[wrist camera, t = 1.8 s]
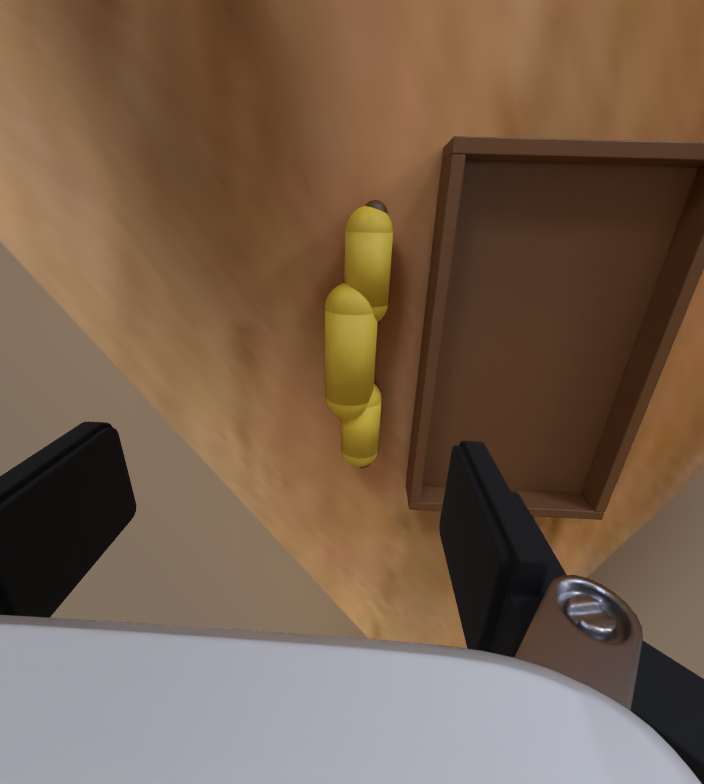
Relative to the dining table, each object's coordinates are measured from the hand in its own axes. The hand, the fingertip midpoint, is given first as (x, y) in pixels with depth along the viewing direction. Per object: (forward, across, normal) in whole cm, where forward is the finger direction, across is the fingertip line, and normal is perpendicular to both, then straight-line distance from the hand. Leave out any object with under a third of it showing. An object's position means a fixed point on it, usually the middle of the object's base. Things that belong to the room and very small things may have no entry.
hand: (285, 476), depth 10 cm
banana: (+18, -1, +2) cm, 18 cm away
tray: (+18, -14, +1) cm, 23 cm away
